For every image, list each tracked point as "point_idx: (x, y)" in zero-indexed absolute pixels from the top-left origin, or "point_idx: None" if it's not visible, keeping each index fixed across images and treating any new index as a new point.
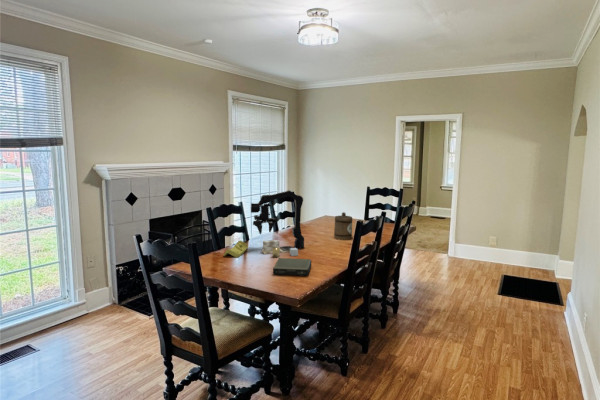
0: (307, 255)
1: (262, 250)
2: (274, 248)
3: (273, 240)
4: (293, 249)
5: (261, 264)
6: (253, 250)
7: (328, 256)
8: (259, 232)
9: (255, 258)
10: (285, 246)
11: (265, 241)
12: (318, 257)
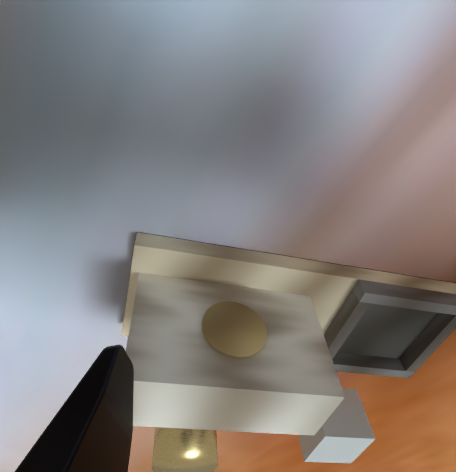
0: (383, 427)
1: (133, 268)
2: (167, 468)
3: (275, 401)
4: (322, 458)
5: (19, 458)
6: (46, 137)
7: (448, 461)
8: (82, 393)
9: (2, 375)
10: (415, 307)
11: (144, 406)
12: (394, 459)
